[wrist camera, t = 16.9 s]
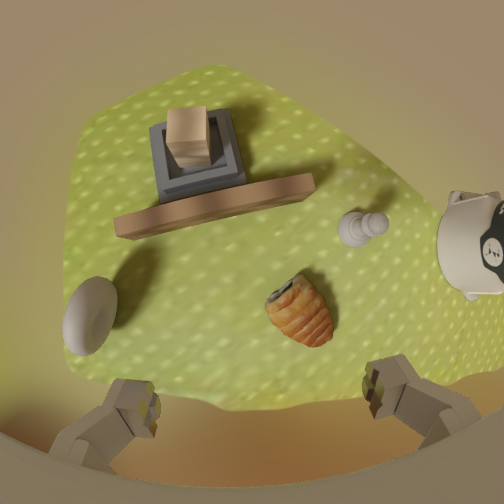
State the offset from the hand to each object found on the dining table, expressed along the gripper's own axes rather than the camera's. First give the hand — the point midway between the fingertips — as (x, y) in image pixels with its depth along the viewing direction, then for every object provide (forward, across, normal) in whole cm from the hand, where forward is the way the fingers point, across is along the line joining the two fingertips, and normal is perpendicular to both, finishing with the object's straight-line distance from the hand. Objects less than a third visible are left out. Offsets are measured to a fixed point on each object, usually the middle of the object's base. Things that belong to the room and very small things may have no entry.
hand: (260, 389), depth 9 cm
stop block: (+29, +6, -9) cm, 31 cm away
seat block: (+30, +6, -9) cm, 31 cm away
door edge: (+27, +4, -2) cm, 27 cm away
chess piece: (+27, -14, +2) cm, 30 cm away
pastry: (+23, -6, +11) cm, 26 cm away
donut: (+22, +19, +9) cm, 31 cm away
